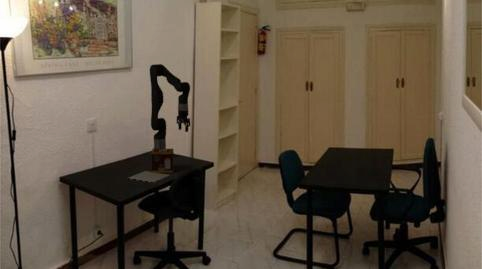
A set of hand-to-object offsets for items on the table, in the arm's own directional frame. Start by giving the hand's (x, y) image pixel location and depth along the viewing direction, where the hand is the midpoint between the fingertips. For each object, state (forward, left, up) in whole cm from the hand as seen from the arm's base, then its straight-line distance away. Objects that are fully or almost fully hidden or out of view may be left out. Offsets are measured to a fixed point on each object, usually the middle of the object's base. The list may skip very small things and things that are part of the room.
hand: (183, 130), depth 356 cm
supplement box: (-7, -18, -28) cm, 33 cm away
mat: (-7, -34, -28) cm, 44 cm away
